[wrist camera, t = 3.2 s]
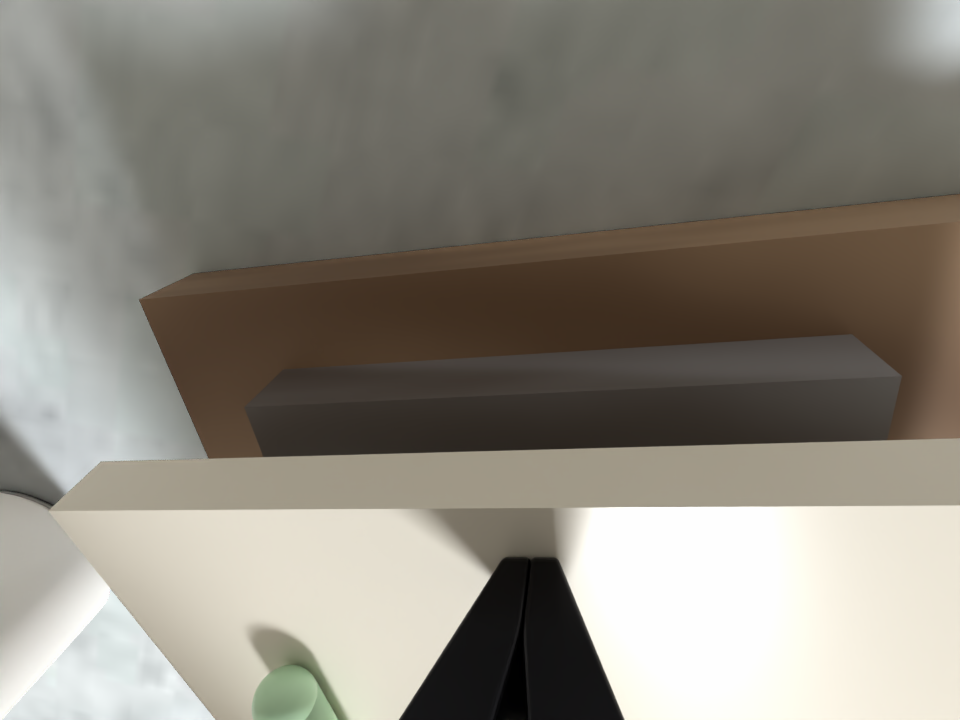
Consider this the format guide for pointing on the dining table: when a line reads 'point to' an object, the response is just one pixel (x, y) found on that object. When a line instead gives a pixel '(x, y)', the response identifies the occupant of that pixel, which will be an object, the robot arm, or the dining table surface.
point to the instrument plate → (584, 559)
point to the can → (39, 594)
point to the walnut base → (584, 339)
